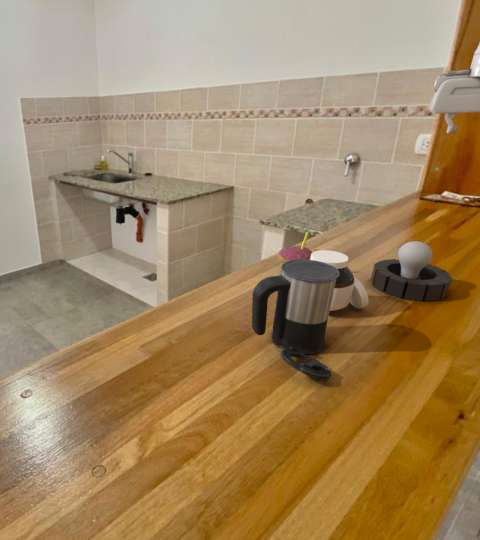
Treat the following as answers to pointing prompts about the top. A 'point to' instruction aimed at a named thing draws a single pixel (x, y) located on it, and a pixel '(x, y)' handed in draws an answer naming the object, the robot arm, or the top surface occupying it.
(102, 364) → the top surface
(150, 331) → the top surface
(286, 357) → the milk frother
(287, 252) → the cupcake
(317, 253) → the spread jar
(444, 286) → the tire
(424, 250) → the lightbulb
